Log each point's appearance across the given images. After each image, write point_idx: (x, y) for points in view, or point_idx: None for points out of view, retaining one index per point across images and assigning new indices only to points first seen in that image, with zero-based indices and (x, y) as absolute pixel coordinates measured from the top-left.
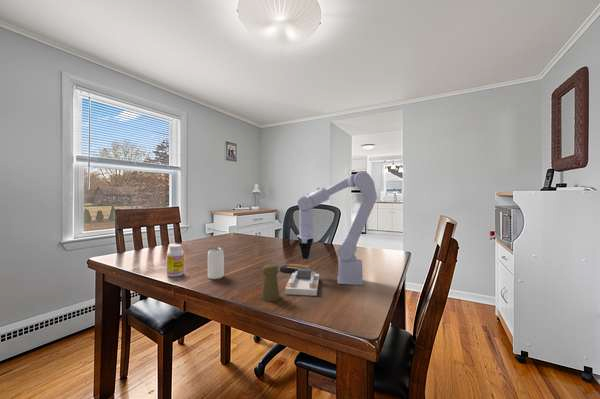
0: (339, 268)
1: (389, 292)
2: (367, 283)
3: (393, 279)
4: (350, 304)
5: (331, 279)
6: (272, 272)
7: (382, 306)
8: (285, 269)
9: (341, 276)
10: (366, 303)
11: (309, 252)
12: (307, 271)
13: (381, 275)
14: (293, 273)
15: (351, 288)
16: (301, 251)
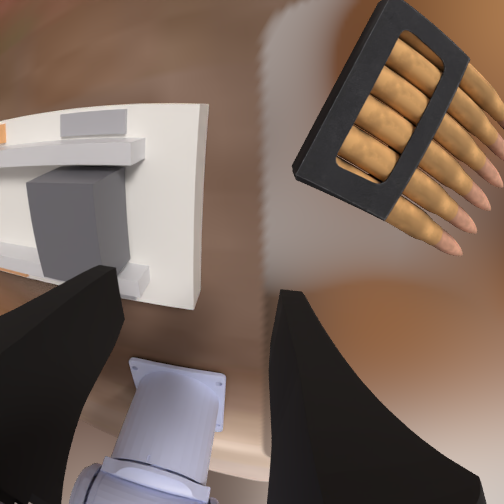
0: (138, 420)
1: (115, 434)
2: None
3: (226, 470)
4: None
5: (197, 346)
6: None
7: None
8: (363, 37)
9: (138, 393)
10: None
11: (271, 382)
12: (40, 256)
13: (265, 464)
14: (181, 113)
15: (105, 379)
16: (19, 307)
